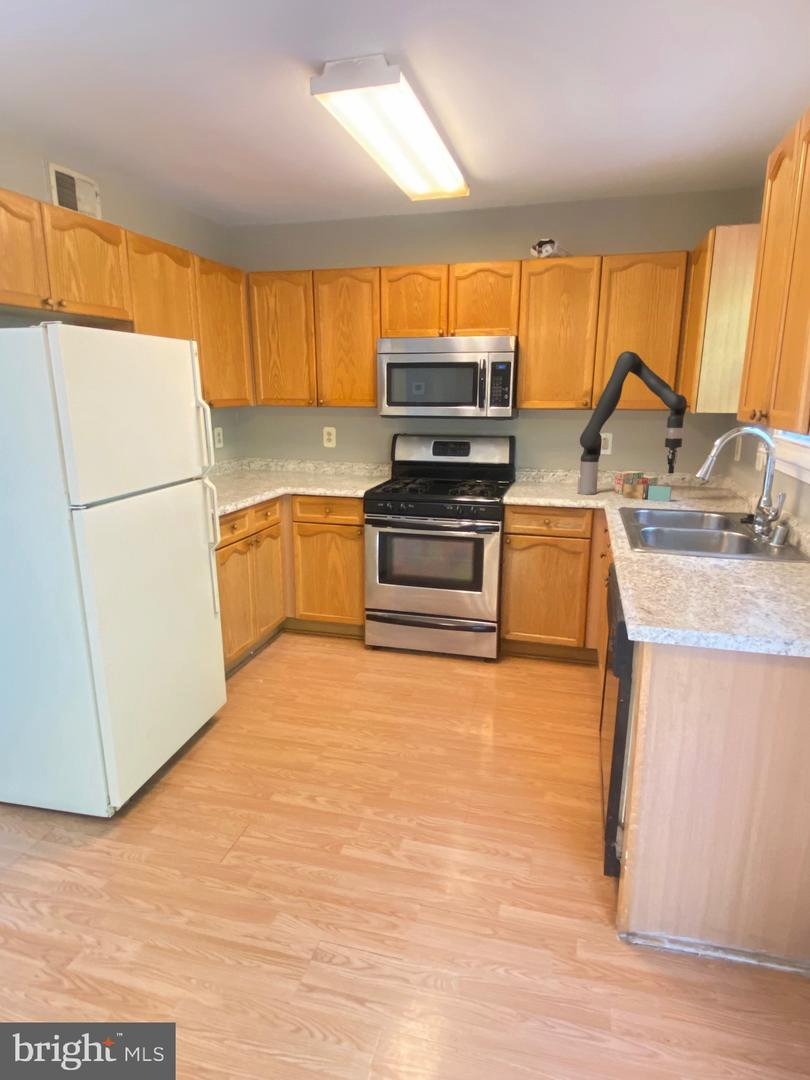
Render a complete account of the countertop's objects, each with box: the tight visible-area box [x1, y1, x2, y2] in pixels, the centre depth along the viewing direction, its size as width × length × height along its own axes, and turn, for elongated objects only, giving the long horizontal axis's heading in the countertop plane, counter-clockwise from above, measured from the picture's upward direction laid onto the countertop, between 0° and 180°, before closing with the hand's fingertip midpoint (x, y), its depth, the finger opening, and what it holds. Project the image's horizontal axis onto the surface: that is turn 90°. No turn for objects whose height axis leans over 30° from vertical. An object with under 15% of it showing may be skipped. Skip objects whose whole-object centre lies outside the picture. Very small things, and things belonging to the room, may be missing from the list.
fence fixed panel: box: [622, 484, 649, 501], centre depth 298 cm, size 12×2×8 cm, turn 55°
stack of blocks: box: [614, 470, 659, 496], centre depth 315 cm, size 21×6×12 cm, turn 105°
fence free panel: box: [647, 485, 672, 503], centre depth 292 cm, size 10×2×7 cm, turn 55°
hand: (670, 473), depth 291 cm, fingers closed
